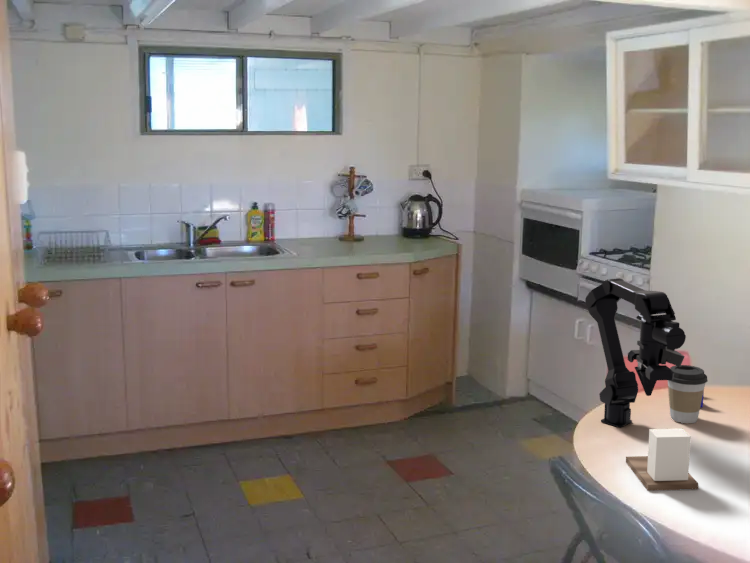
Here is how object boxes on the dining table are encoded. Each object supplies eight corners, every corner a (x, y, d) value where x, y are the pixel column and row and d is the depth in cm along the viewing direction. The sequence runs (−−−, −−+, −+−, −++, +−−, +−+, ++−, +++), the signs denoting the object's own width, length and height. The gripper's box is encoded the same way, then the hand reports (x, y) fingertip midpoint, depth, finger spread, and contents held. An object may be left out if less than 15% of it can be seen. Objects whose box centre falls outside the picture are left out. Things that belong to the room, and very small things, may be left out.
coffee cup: (701, 413, 239) (704, 364, 236) (708, 427, 228) (711, 376, 225) (660, 411, 242) (663, 362, 238) (665, 425, 231) (668, 375, 228)
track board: (625, 462, 207) (626, 456, 207) (672, 460, 207) (672, 455, 207) (647, 490, 191) (647, 484, 191) (697, 489, 192) (698, 483, 191)
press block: (646, 470, 198) (648, 428, 195) (678, 470, 198) (681, 427, 196) (654, 481, 192) (656, 437, 190) (687, 480, 192) (690, 436, 190)
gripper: (695, 348, 205) (692, 406, 208) (668, 329, 224) (665, 383, 227) (652, 349, 205) (648, 407, 208) (628, 330, 223) (625, 384, 227)
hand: (648, 395), depth 217 cm, fingers closed
